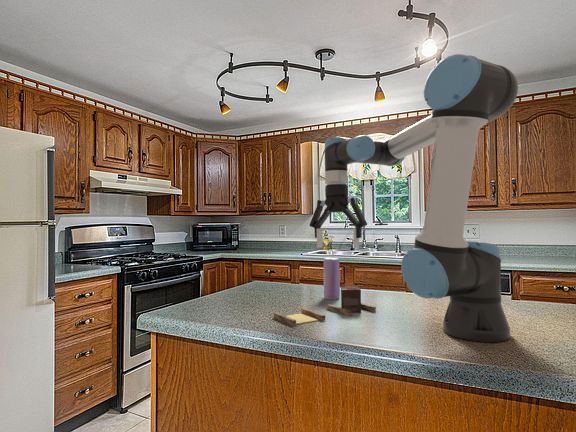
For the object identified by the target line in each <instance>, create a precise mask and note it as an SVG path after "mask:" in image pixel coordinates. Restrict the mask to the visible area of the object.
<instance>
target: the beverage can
mask: <svg viewBox="0 0 576 432" xmlns="http://www.w3.org/2000/svg"><path fill="white" fill-rule="evenodd" d="M340 276H341V275H340V259H339V257H324V258H323V297H324V299H326V300H338V299H339V298H341V286H340V282H341V281H340Z"/></svg>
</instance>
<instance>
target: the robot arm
mask: <svg viewBox="0 0 576 432" xmlns="http://www.w3.org/2000/svg"><path fill="white" fill-rule="evenodd" d="M518 92H519V83H518V80H517V78H516V76H515V74H514V73H513V72H512V71H511V70H510V69H509V68H507V67H506V66H503V65H501V64H495V63H494V62H493V63H492V62H489V61H487V60H483V59H480V58H478V57H476V56H474V55H467V54H466V55H465V54H460V53H456V54H452V55H449V56H447V57H445V58H444V59H442V60H440V61H439V62H438V63H437V64H436V66H435V67H434V68H433V69H432V70H430V73H428V76H427V77H426V80H425V83H424V87H423V99H424V101H425V102H426V104H427V105H428V107H429V108H431V109H432V111H431V115H429V116H427V117H426V118H423V119H421V120H420V121H418V122H416V123H415V124H413V125H411V126H409V127H407V128H405V129H403V130H402V131H400V132H399V133H397V134H395V135H392V136H391V137H389V138H387V139H385V140H375V139H373V138H371V137H370V136H368V135H366V134H363V135H356V136H354V137H352V138H350V139H347V138H346V137H344V136H343V137H342V136H333V137H328V138H327V139H326V140H325V141H324V151H323V153H324V183H325V184H326V185H325V187H324V188H325V189H324V191H325V194H324V195H325V200H324V199H317V200H316V208H315V211H314V213H313V215H312V217H311V220H310V222H309V227H311V228H313V229H314V237H315V239H316V248H317V249H318V248H319V249H321V248H323V247H324V245H323V244H324V243H323V242H324V240H323V238H324V237H323V228H322V226H323V225H324V223H325V221H326V220H327V219H328V218H329V216H330V215H331V214H332V213H343V214H344V215H345V216H346V217H347V218H348V220H349V221H350V222H351V223H352V225H353V226H354V227H353V228H352V229H353V230H352V231H353V233H352V235H353V236H352V239H353V244H352V246H353V250H354V249H355V250H357V249H360V239H361V238H362V228H363V227H367V226H368V222H367V221H366V218H365V217H364V214H363V212H362V210H361V207H360V206H359V204H358V198H357V197H351V198H348V197H349V196H348V195H349V185H348V182H349V181H348V179H349V178H348V175H349V174H348V171H349V170H348V165H351V164H355V163H358V164H359V163H360V164H366V165H367V164H368V165H369V164H370V165H379V166H380V165H381V166H387V167H393V166H398V165H401V164H402V162H403V161H404V160H405V157H408V156H409V155H412V154H414V153H416V152H418V151H421V150H422V149H424V148H427V147H430V146H432V145H433V144H434V148H433V155H432V162H431V170H430V172H431V173H430V177H429V186H428V193H427V200H426V207H425V213H424V214H425V215H424V220H423V221H424V222H423V230H422V231H421V232H420V233H419V234H417V235H416V236H415V239H414V245H413V248H411V249H409V250H408V251H407V252H406V253H405V254H404V255H403V257H402V259H401V265H400V266H401V267H400V268H401V275H402V279H403V281H404V283H406V285H407V288H408V289H409V290H410V291H411V292H412V293H414V294H415V295H416V296H418V297H420V298H422V299H434V300H435V299H437V300H438V299H443V298H447V297H449V303H448V306H447V309H446V311H445V314H444V318H443V321H442V330H443V332H444V333H445V334H447V335H449V336H451V337H455V338H458V339H462V340H467V341H470V342H471V341H473V342H479V343H480V342H481V343H501V342H506V341H508V340H510V339H511V326H510V325H509V323H508V319H507V316H506V314H505V312H504V309H503V306H502V305H503V304H502V275H501V274H502V273H501V270H502V268H501V266H502V264H501V262H502V257H501V252H500V248H499V246H498V245H497V244H494V243H490V242H481V241H470V240H469V241H468V240H465V238H464V229H465V222H466V219H467V218H466V217H467V211H468V203H469V198H470V197H469V196H470V190H471V186H472V185H471V183H472V177H473V170H474V164H475V158H476V152H477V146H478V145H477V144H478V138H479V132H480V130H481V128H482V127H484V126H485V125H487V124H488V123H490V122H493V121H495V120H496V119H499V118H500V117H502V116H504V114H505V113H507V112H508V111H509V110H510V109H511V108H512V106H514V103H515V102H516V100H517V97H518ZM348 205H350V206H351V208H352V211H353V212H354V214H353V213H352V212H351V209H350V208H349V207H348ZM325 206H326V207H325ZM324 207H325V209H324ZM323 209H324V210H323ZM322 211H323V212H322ZM355 215H356V216H355Z"/></svg>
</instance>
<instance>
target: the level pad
mask: <svg viewBox="0 0 576 432" xmlns="http://www.w3.org/2000/svg"><path fill="white" fill-rule="evenodd" d="M286 316H287V317H289V318H292V319H294V320H296V326H297V325H301V324H307V323H312V322H319V320H318V319H315V318H313V317H310V316H307V315H305V314H302V312H301V313H295V314H289V315H286Z"/></svg>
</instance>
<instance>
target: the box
mask: <svg viewBox="0 0 576 432" xmlns="http://www.w3.org/2000/svg"><path fill="white" fill-rule="evenodd" d="M340 298H341V300H340V301H341V302H340V303H341V304H340V308H343V309H347V310H350V311H352V313H362V309H361V303H362V290H361V288H360V286H340Z"/></svg>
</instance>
